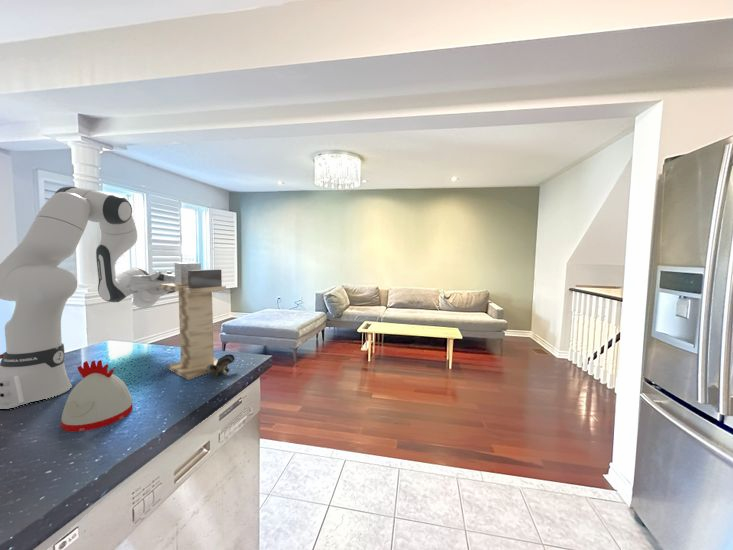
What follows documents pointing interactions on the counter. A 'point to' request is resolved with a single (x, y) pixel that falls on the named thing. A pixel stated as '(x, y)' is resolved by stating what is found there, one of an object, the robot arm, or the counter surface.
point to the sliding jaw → (180, 273)
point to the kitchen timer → (96, 399)
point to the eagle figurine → (221, 365)
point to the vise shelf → (196, 322)
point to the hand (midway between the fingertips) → (165, 272)
